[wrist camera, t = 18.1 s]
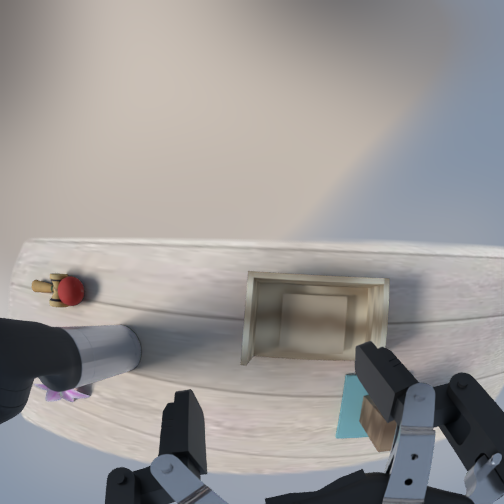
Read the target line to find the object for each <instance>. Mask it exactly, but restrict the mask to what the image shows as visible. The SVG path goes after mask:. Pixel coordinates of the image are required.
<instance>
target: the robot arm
mask: <svg viewBox="0 0 504 504" xmlns="http://www.w3.org/2000/svg"><path fill="white" fill-rule="evenodd" d="M140 358H141V346H140V342H139V340H138V338H137V336H136V335H135V333H134V332H133V331H132V330H131V329H129V328H128V327H126V326H123V325H104V326H77V327H50V326H48V325H45V324H42V323H38V322H32V321H22V320H13V319H6V318H0V424H1V423H3V422H6V421H8V420H9V419H11V418H13V417H15V416H16V415H17V414H19V413H20V412H21V411H22V410H23V408H24V407H25V405H26V403H27V401H28V398H29V394H30V391H31V387H32V384H33V381H34V378H37V377H38V378H39V379H40V380H41V382H42V383H43V384H44V385H45V386H46V387H47V388H49V389H50V390H52V391H55V392H63V391H67V390H71V389H74V388H77V387H81V386H84V385H87V384H90V383H94V382H97V381H100V380H103V379H106V378H109V377H113V376H116V375H119V374H122V373H125V372H128V371H131V370H133V369H134V368H135V367H136V366H137V365H138V363H139V361H140ZM355 372H356V375H357V377H358V379H359V381H360V382H361V384H362V385H363V387H364V388H365V390H366V391H367V393H368V394H369V396H370V397H371V399H372V400H373V402H374V403H375V405H376V407H377V408H378V410H379V411H380V413H381V414H382V416H383V417H384V419H385V420H386V422H387V423H389V422H391V421H393V420H395V422H396V423H397V426H396V431H395V435H394V440H393V444H392V448H391V452H390V456H389V459H388V462H387V465H386V468H385V471H384V473H380V472H373V473H364V471H363V469H361V470H359V471H356V472H354V473H351V474H349V475H346V476H343V477H341V478H339V479H337V480H336V481H334V482H332V483H330V484H329V485H327V486H325V487H324V488H322V489H320V490H318V491H314V492H303V493H289V494H284V495H280V496H276V497H271V498H266V499H265V502H266V504H492V503H493V502H494V501H496V500H498V499H499V498H500V497H502V496H503V495H504V412H503V411H502V410H501V408H500V407H499V406H498V405H497V404H496V402H495V401H494V400H493V399H492V398H491V397H490V396H489V394H488V393H487V392H486V391H485V390H484V389H483V388H482V386H481V385H480V384H479V383H478V382H477V381H476V380H475V379H474V378H473V377H472V376H471V375H470V374H467V373H458V374H455V375H454V376H453V377H452V378H451V380H450V382H449V383H448V384H444V385H440V386H436V387H432V386H430V385H429V384H426V383H419V382H418V381H417V380H416V379H415V378H414V376H413V375H412V374H411V373H410V372H409V371H408V370H407V368H406V367H405V366H404V365H403V364H401V362H400V360H399V359H397V357H396V356H395V355H394V354H393V353H392V351H390V350H388V349H386V348H384V347H380V348H377V347H376V346H375V345H374V343H373V342H372V341H368V342H365V343H363V344H360V345H357V346H356V348H355ZM437 426H439V428H440V429H441V431H442V432H443V434H444V435H445V437H446V438H447V440H448V441H449V443H450V444H451V446H452V447H453V449H454V450H455V452H456V454H457V455H458V457H459V458H460V460H461V461H462V463H463V465H464V466H465V468H466V469H467V471H468V472H467V473H466V476H465V479H464V482H465V487H466V496H465V495H462V494H457V493H453V492H449V491H444V490H440V489H436V488H432V487H429V486H427V484H428V479H429V474H430V468H431V463H432V456H433V450H434V442H435V430H433V428H434V427H437ZM161 428H162V429H161V435H160V446H159V455H158V457H157V458H155V459H154V460H153V462H152V463H151V466H149V467H146V468H143V469H140V470H137V471H133V472H132V471H131V470H129V469H127V468H124V467H120V468H116V469H114V470H112V472H110V473H109V475H108V478H107V486H106V497H105V504H169V503H172V502H177V503H178V504H228V503H227V502H226V501H224V500H223V499H222V498H221V497H220V496H218V495H217V494H216V493H215V492H214V491H212V490H211V489H210V488H209V487H208V486H206V485H205V484H204V483H203V482H202V481H201V480H200V475H202V474H207V462H206V445H205V423H204V415H203V411H202V409H201V407H200V405H199V403H198V401H197V399H196V397H195V395H194V393H193V391H192V390H191V389H190V390H183V391H177V392H175V399H174V403H168V404H167V405H166V407H165V409H164V411H163V415H162V425H161Z"/></svg>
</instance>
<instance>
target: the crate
mask: <svg viewBox="0 0 504 504" xmlns="http://www.w3.org/2000/svg"><path fill="white" fill-rule="evenodd" d="M389 283H390V278H365V277H344V276H324V275H305V274H287V273H271V272H255V271H248V279H247V291H246V303H245V316H244V328H243V340H242V353H241V365H245V366H247V364H248V363H249V361H250V360H251V359H252V357H253V356H262V357H274V358H288V359H306V360H342V361H355V348H356V346H357V345H360V344H363V343H365V342H368V341H372V342H373V343H374V345H375V346H376V347H377V348H380V347H384V348H385V346H386V336H387V324H388V309H389Z"/></svg>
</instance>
